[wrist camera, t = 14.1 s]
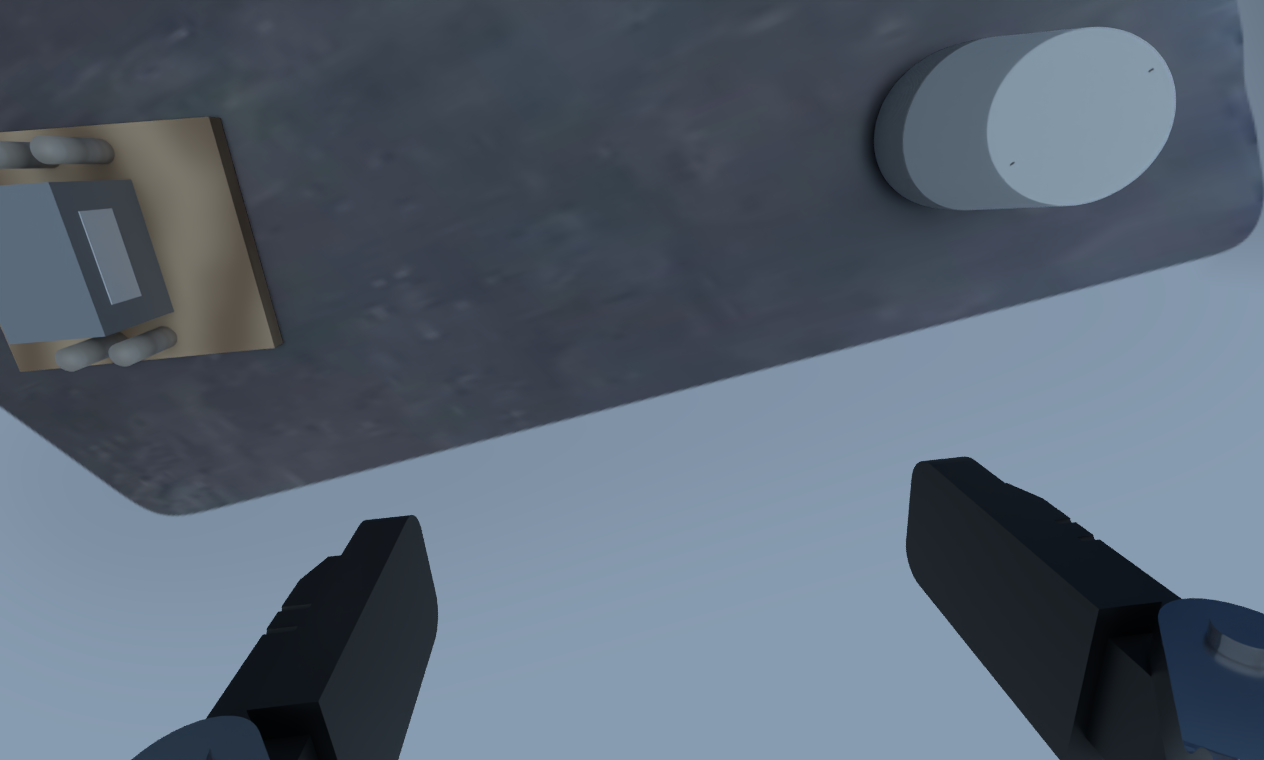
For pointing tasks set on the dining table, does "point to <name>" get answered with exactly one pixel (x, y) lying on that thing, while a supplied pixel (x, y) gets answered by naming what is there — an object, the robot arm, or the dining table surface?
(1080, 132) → the smart speaker
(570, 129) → the dining table surface
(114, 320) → the grey rectangular block
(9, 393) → the dining table surface
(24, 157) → the tray
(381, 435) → the dining table surface
